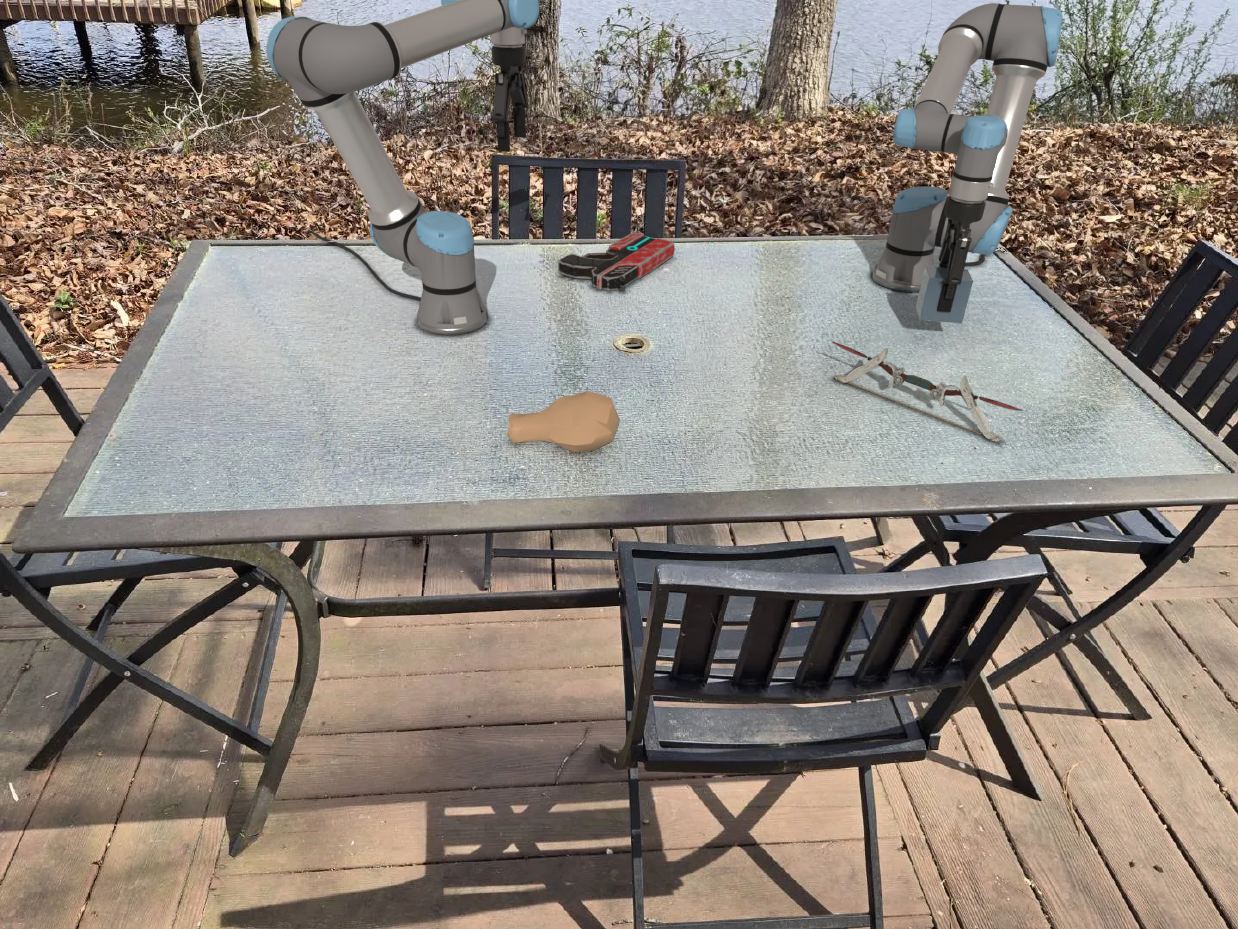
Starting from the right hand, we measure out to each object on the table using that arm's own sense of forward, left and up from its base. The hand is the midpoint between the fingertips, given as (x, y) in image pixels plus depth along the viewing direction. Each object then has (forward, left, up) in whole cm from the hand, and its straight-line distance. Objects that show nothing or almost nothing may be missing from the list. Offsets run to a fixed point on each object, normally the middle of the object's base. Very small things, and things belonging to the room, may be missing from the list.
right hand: (941, 303), depth 190 cm
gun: (+50, -62, -9) cm, 81 cm away
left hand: (+75, -70, +22) cm, 105 cm away
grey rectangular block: (0, 0, -3) cm, 3 cm away
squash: (+91, +13, -9) cm, 92 cm away
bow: (+24, +24, -9) cm, 35 cm away
